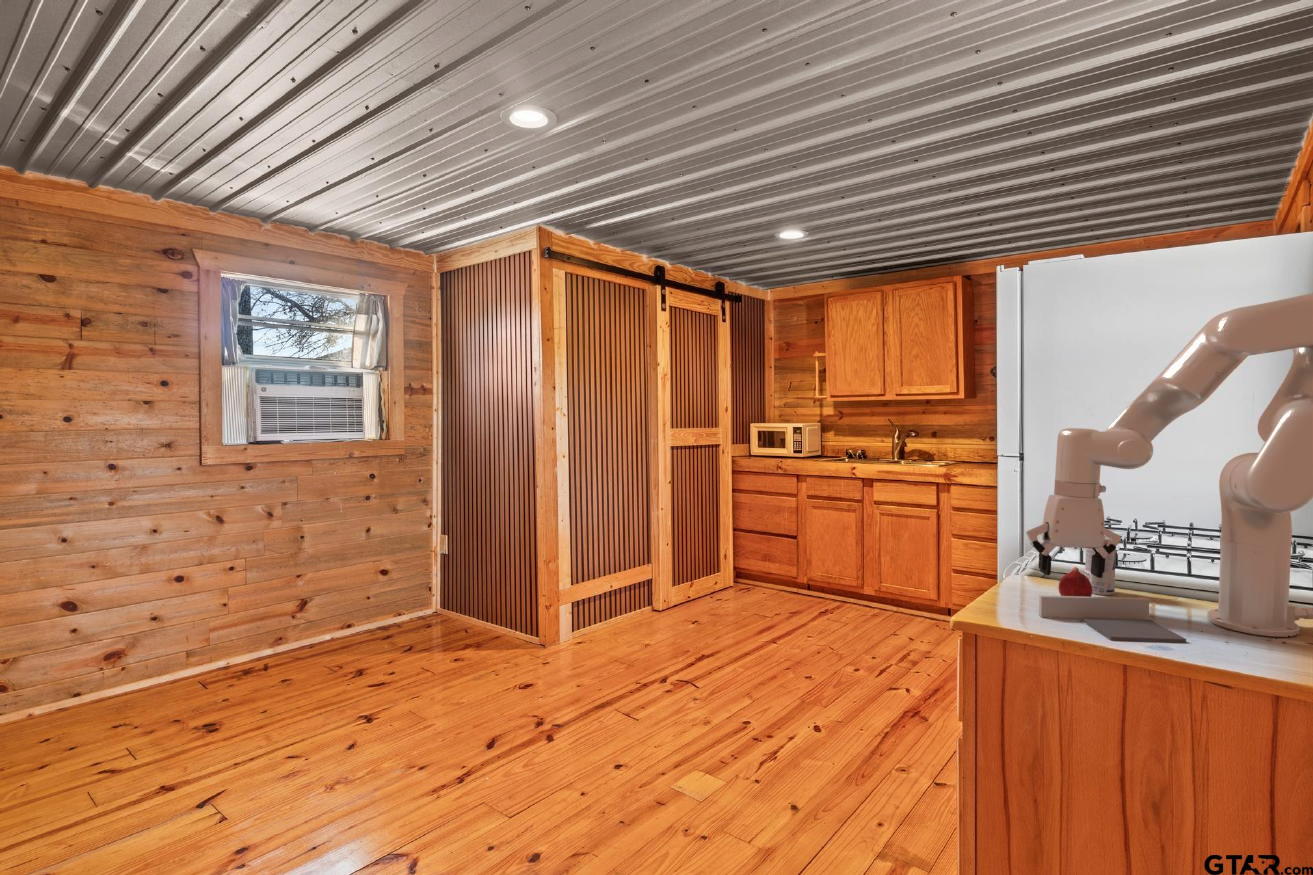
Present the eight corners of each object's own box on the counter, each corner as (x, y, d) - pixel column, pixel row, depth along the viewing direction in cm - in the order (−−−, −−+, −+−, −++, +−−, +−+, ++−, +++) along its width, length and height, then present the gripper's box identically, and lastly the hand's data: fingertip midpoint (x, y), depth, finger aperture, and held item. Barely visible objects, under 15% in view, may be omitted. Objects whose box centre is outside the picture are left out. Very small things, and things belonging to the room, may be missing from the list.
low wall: (1145, 618, 127) (1146, 597, 126) (1148, 620, 126) (1149, 599, 125) (1038, 615, 129) (1039, 595, 129) (1041, 617, 128) (1041, 596, 128)
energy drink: (1113, 590, 145) (1115, 536, 144) (1115, 597, 140) (1116, 540, 140) (1084, 587, 148) (1085, 533, 147) (1084, 593, 143) (1086, 538, 142)
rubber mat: (1150, 622, 124) (1150, 619, 124) (1186, 642, 114) (1186, 639, 114) (1081, 621, 126) (1081, 617, 126) (1110, 640, 116) (1110, 636, 116)
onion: (1097, 612, 131) (1098, 571, 130) (1064, 610, 132) (1065, 570, 132) (1084, 603, 137) (1085, 564, 136) (1053, 601, 138) (1054, 563, 137)
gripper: (1112, 489, 136) (1106, 572, 137) (1022, 486, 138) (1017, 567, 139) (1134, 495, 128) (1127, 582, 130) (1038, 491, 130) (1033, 577, 132)
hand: (1070, 574), depth 134 cm, fingers open, 9 cm apart
